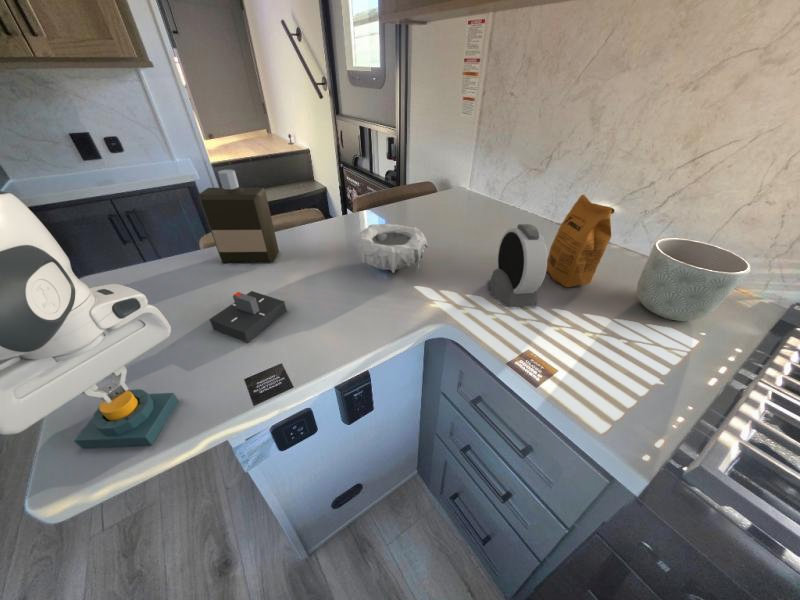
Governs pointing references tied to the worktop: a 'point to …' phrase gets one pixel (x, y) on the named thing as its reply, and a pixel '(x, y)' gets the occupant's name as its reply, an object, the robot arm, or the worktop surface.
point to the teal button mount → (130, 423)
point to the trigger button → (119, 407)
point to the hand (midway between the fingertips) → (116, 395)
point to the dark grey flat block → (248, 318)
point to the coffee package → (580, 243)
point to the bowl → (391, 246)
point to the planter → (688, 278)
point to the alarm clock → (519, 266)
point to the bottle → (239, 221)
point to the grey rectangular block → (246, 303)
